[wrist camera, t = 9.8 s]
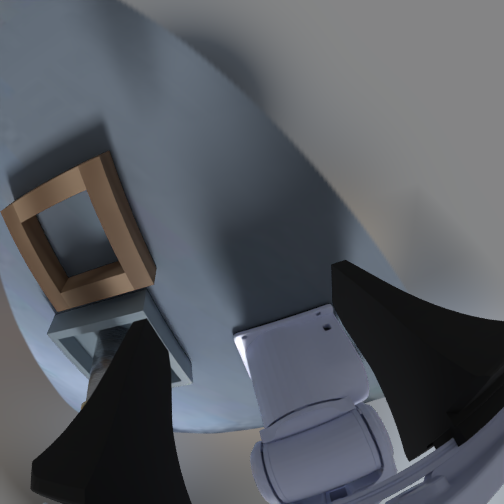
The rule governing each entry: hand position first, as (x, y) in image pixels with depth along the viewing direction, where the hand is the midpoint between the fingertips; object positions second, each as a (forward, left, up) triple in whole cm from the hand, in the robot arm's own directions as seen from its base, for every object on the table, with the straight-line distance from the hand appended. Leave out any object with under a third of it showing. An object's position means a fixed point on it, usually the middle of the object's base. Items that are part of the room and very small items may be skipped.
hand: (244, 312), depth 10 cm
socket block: (+10, -2, -9) cm, 14 cm away
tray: (+12, +9, -9) cm, 18 cm away
